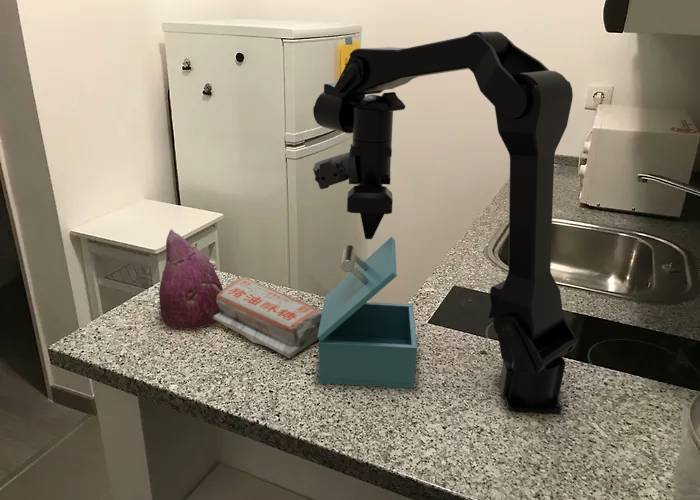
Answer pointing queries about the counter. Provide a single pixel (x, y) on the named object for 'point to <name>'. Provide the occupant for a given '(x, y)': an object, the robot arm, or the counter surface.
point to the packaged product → (268, 316)
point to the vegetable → (188, 286)
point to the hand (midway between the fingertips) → (368, 238)
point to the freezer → (371, 348)
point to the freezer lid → (357, 285)
